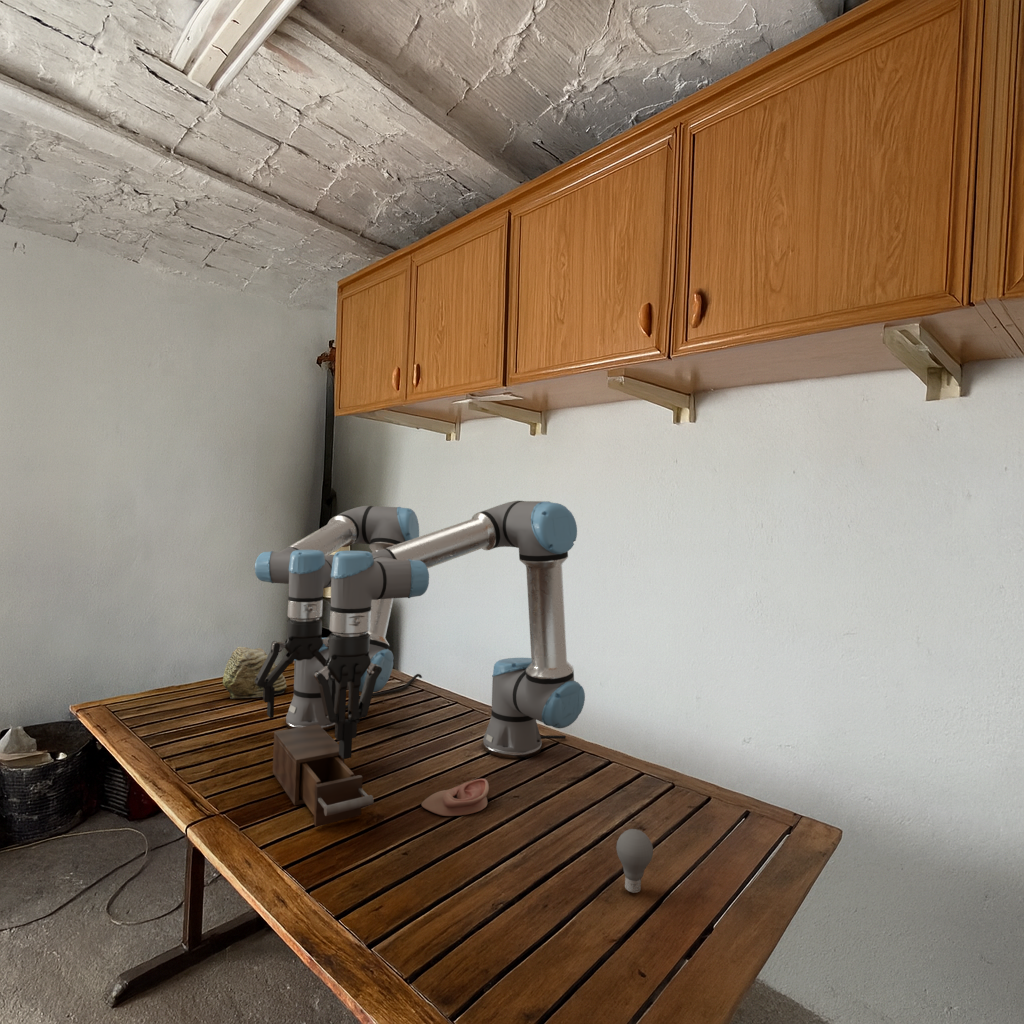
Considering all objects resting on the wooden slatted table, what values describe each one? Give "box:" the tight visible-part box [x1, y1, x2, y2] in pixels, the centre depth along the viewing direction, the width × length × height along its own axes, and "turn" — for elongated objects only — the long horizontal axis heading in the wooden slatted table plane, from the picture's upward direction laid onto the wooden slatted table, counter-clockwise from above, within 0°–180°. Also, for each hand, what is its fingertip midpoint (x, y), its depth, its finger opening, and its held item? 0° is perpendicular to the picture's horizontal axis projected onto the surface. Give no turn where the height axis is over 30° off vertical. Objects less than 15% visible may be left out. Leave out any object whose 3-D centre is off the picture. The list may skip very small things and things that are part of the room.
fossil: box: [222, 646, 288, 699], centre depth 198 cm, size 9×18×15 cm, turn 132°
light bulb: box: [615, 828, 654, 894], centre depth 106 cm, size 6×6×10 cm
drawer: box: [299, 756, 375, 828], centre depth 127 cm, size 22×9×8 cm, turn 35°
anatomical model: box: [421, 778, 490, 817], centre depth 133 cm, size 13×4×12 cm
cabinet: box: [272, 724, 345, 806], centre depth 140 cm, size 18×10×10 cm, turn 35°
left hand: (301, 711), depth 144 cm, fingers open, 13 cm apart
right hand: (344, 755), depth 121 cm, fingers closed
